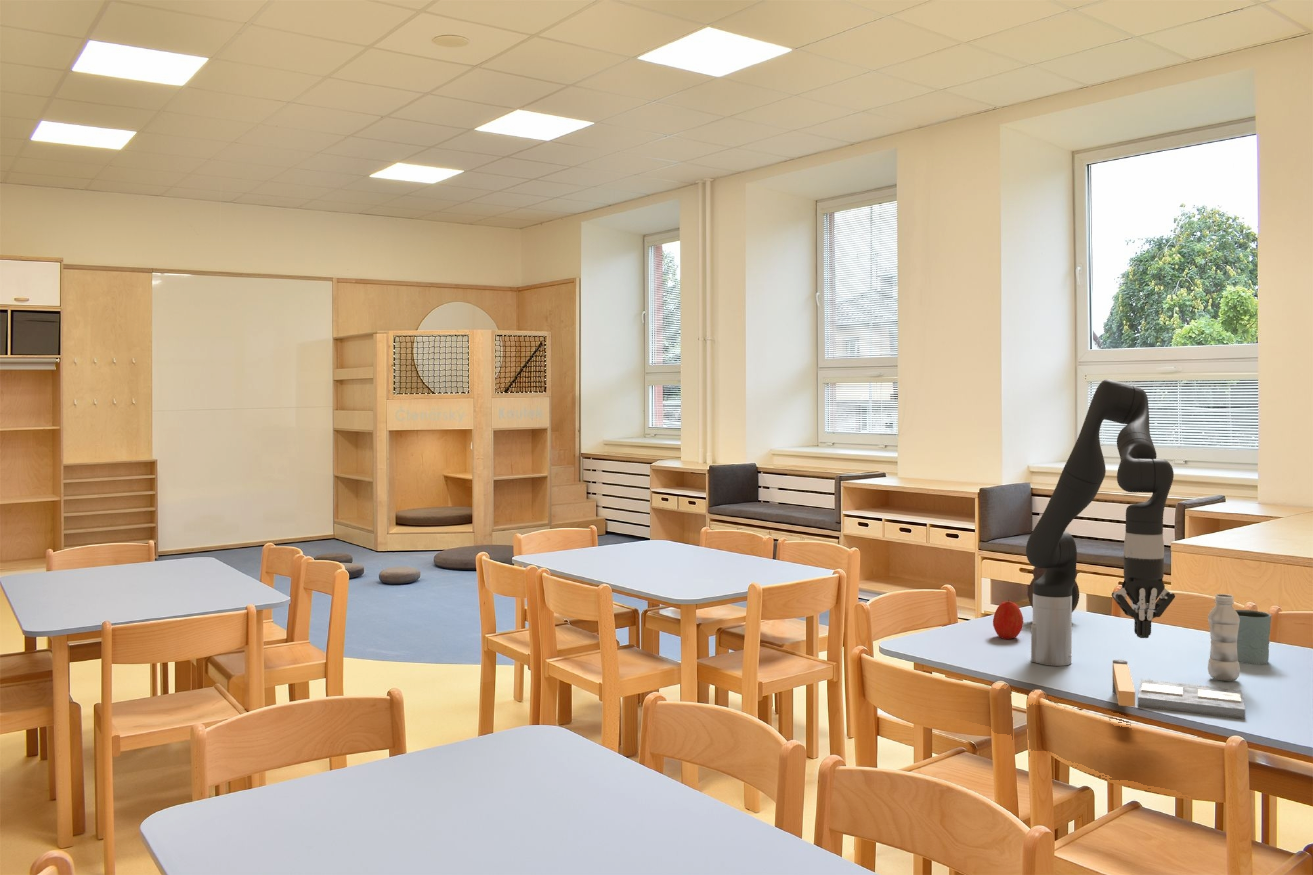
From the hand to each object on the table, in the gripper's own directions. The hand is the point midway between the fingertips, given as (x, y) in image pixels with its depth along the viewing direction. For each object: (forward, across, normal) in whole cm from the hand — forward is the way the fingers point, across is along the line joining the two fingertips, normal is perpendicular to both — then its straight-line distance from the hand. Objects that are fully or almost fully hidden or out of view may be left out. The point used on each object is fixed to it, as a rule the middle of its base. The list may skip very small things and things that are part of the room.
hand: (1142, 637), depth 211 cm
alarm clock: (+17, -24, -92) cm, 97 cm away
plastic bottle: (+17, -34, -26) cm, 46 cm away
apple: (+17, -1, -72) cm, 74 cm away
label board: (+17, -16, -8) cm, 24 cm away
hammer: (+16, +1, -5) cm, 17 cm away
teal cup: (+17, -51, -43) cm, 69 cm away
